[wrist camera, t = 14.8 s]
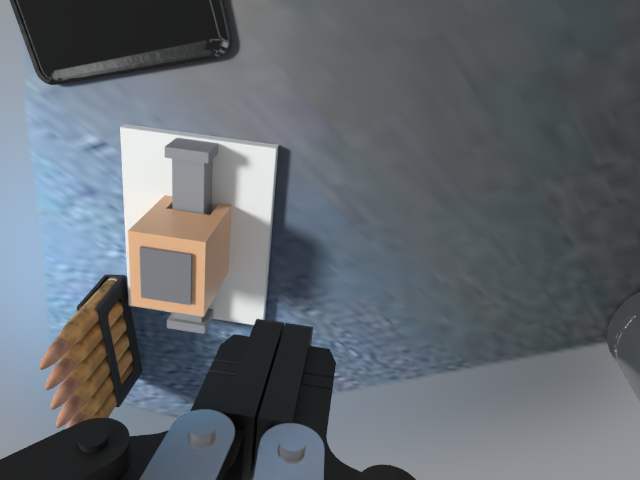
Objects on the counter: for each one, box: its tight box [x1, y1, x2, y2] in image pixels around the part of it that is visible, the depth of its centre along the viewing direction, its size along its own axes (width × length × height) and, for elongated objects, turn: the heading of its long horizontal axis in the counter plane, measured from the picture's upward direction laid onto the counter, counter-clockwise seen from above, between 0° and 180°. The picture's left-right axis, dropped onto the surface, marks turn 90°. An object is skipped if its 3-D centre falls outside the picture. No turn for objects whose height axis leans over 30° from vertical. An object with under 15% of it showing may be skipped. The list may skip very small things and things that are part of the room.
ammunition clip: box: [40, 275, 142, 428], centre depth 46 cm, size 11×2×12 cm, turn 1°
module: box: [128, 195, 232, 317], centre depth 42 cm, size 5×6×7 cm
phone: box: [10, 0, 231, 85], centre depth 39 cm, size 8×1×15 cm
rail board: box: [120, 124, 279, 334], centre depth 44 cm, size 12×16×4 cm
